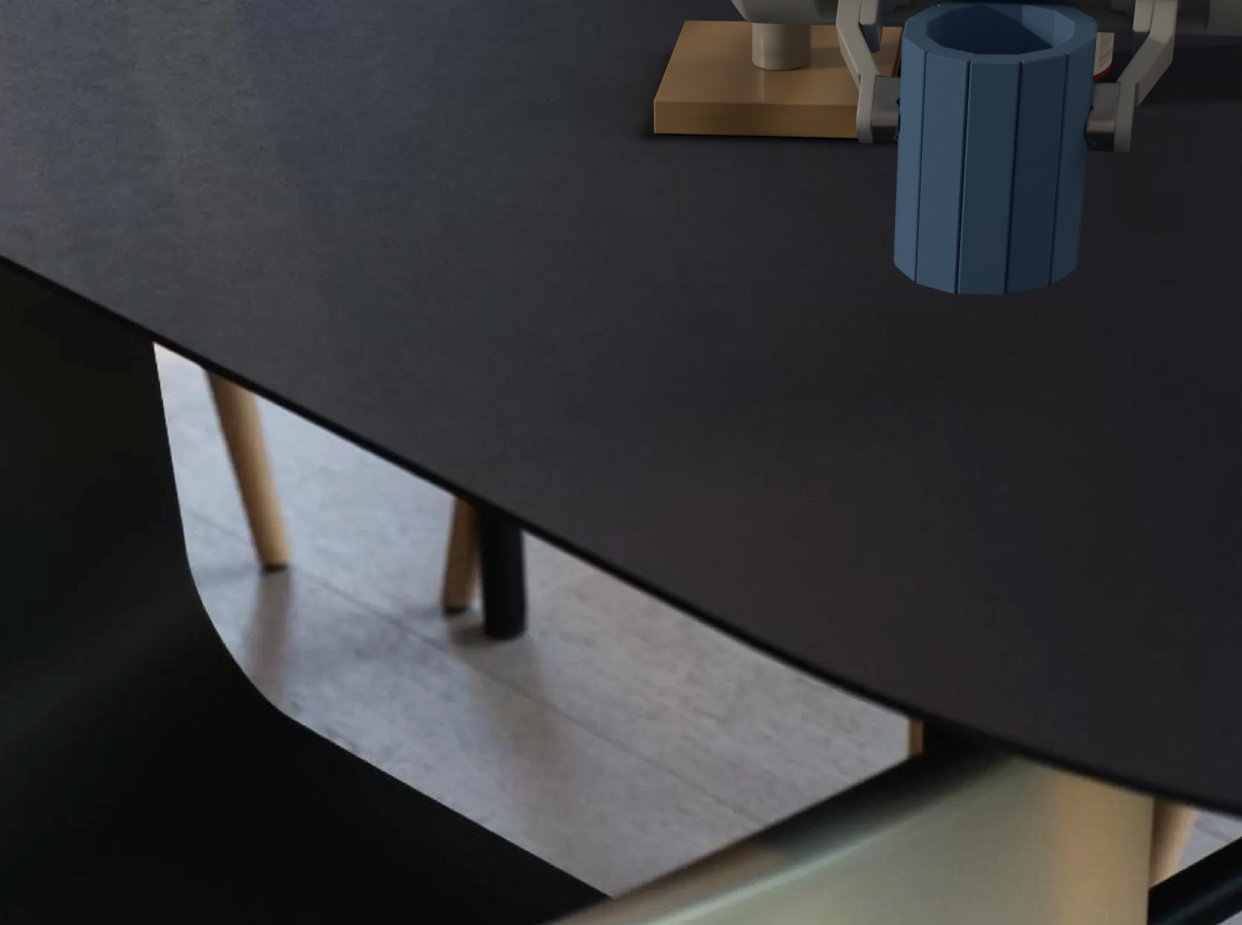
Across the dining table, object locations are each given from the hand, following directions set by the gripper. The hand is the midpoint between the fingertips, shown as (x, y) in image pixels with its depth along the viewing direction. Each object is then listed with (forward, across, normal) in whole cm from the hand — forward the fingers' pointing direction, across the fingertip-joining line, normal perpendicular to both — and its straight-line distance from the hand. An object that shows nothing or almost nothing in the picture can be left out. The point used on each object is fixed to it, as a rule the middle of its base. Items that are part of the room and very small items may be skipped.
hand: (992, 141), depth 91 cm
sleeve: (+3, 0, +4) cm, 5 cm away
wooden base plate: (-13, -12, +25) cm, 31 cm away
